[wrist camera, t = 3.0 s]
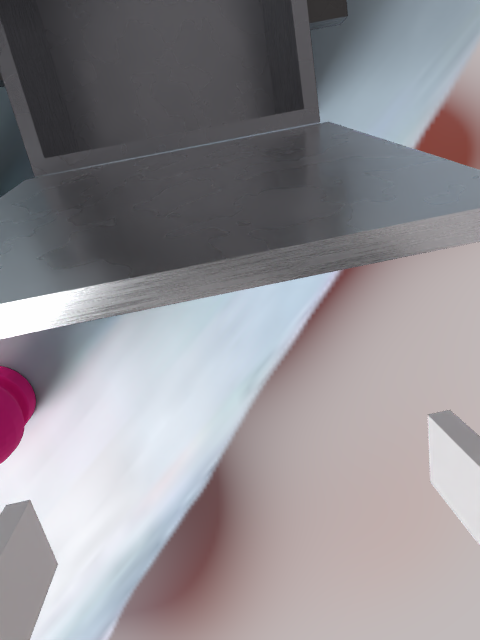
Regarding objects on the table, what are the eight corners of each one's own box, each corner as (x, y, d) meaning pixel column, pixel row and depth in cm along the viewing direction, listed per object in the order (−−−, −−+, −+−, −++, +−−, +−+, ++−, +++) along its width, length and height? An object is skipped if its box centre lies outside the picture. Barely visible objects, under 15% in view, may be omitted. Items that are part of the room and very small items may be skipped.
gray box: (-36, -79, 26) (-152, -209, 17) (287, -135, 27) (329, -286, 18) (48, 185, 31) (-10, 185, 23) (318, 133, 32) (361, 113, 23)
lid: (-210, 346, 9) (-127, 439, 10) (552, 193, 9) (526, 303, 10) (25, 179, 22) (46, 230, 23) (328, 121, 22) (330, 174, 24)
